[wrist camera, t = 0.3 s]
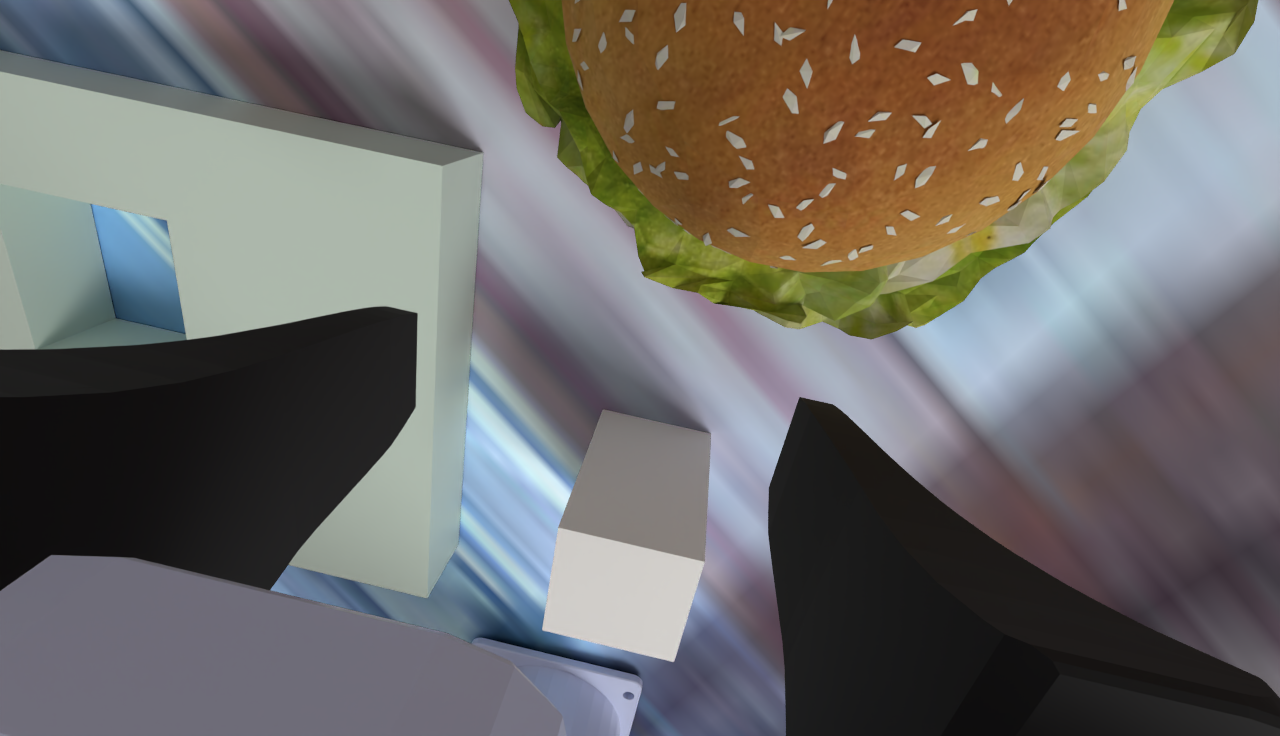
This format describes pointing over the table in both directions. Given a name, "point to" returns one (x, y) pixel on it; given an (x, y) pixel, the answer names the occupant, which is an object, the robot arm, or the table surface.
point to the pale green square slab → (255, 262)
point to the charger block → (632, 537)
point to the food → (851, 134)
